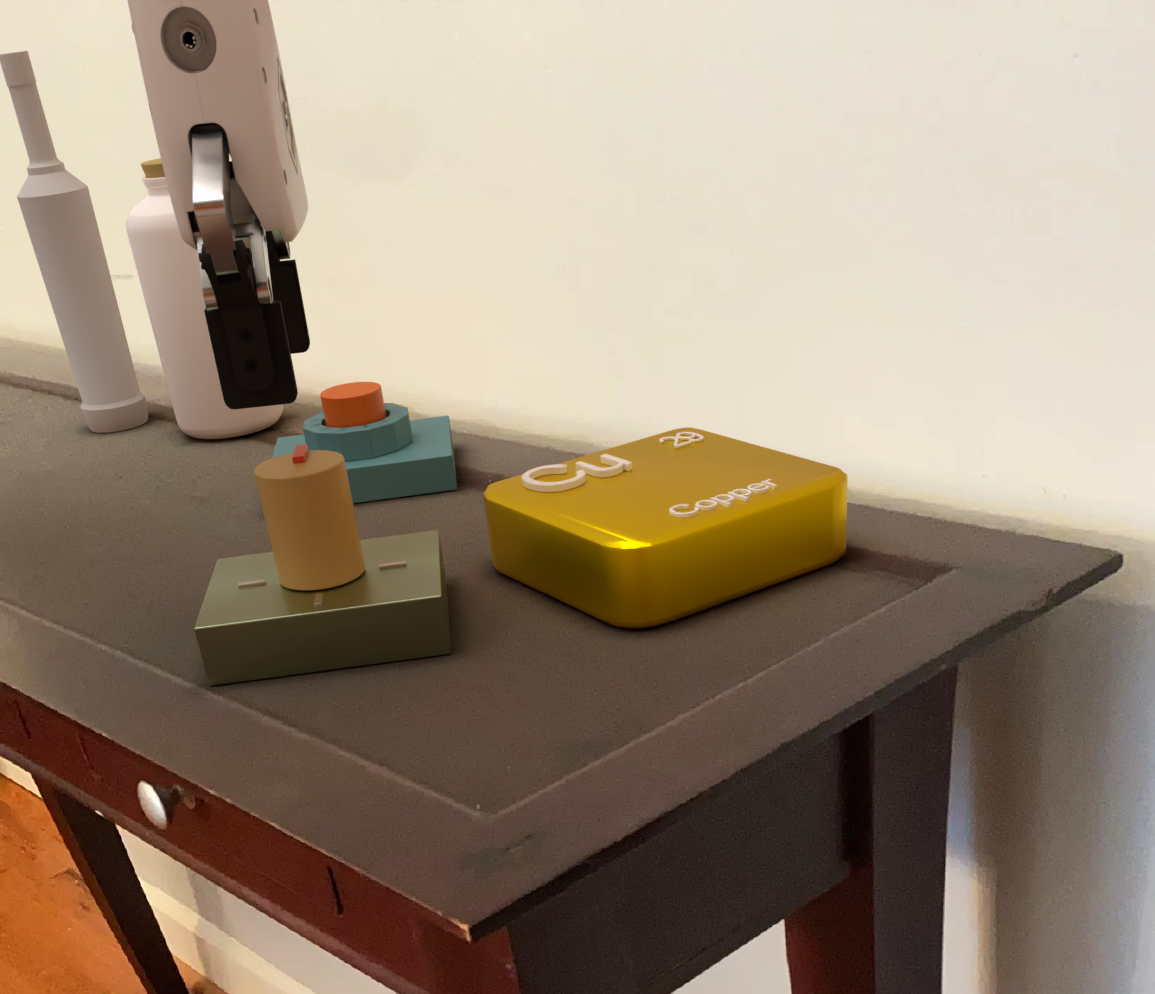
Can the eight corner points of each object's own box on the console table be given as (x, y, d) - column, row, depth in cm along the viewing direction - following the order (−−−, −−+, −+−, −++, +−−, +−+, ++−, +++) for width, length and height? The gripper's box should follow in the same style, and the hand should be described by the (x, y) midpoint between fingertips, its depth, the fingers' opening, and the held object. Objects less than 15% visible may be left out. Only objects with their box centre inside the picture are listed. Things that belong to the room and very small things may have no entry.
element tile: (632, 638, 68) (624, 540, 66) (479, 566, 79) (466, 478, 76) (863, 555, 74) (865, 462, 71) (692, 497, 85) (688, 414, 82)
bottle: (76, 427, 115) (-36, 58, 99) (134, 412, 117) (33, 49, 102) (103, 437, 111) (-9, 56, 96) (161, 420, 114) (61, 46, 98)
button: (325, 434, 91) (318, 401, 90) (327, 419, 94) (321, 386, 93) (386, 426, 91) (380, 393, 90) (387, 411, 94) (381, 378, 93)
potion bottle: (307, 413, 111) (251, 146, 100) (245, 444, 105) (180, 165, 94) (222, 411, 114) (159, 153, 103) (158, 442, 108) (85, 172, 97)
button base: (273, 514, 91) (258, 450, 88) (284, 470, 98) (270, 410, 96) (457, 490, 91) (447, 425, 88) (453, 447, 99) (444, 387, 96)
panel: (209, 686, 69) (192, 625, 67) (230, 612, 77) (215, 555, 75) (451, 654, 69) (441, 592, 67) (447, 583, 77) (437, 526, 75)
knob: (362, 585, 70) (339, 464, 66) (274, 595, 70) (246, 475, 66) (368, 555, 73) (345, 439, 69) (284, 565, 73) (257, 449, 70)
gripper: (255, -102, 49) (344, 418, 59) (288, -92, 62) (356, 329, 73) (37, -80, 48) (166, 438, 59) (119, -75, 62) (211, 345, 72)
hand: (271, 377), depth 66 cm, fingers open, 9 cm apart
